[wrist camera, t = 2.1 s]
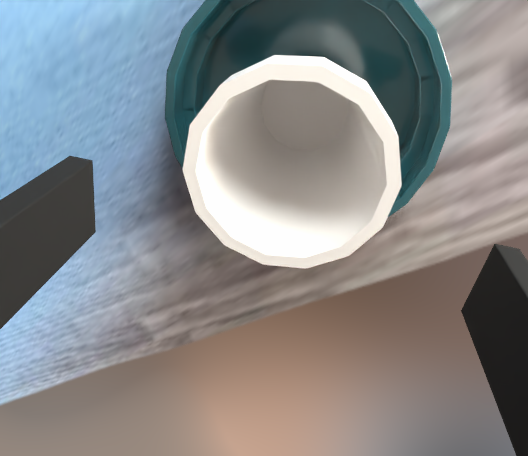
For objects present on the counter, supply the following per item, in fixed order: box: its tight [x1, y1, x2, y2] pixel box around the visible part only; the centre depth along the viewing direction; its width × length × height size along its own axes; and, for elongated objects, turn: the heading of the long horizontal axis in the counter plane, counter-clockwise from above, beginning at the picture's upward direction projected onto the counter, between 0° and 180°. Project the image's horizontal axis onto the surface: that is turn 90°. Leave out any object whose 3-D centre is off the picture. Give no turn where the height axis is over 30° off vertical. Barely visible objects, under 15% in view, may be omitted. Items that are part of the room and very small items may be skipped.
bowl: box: [165, 0, 452, 218], centre depth 29 cm, size 17×17×4 cm
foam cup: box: [183, 55, 402, 269], centre depth 25 cm, size 10×9×13 cm
